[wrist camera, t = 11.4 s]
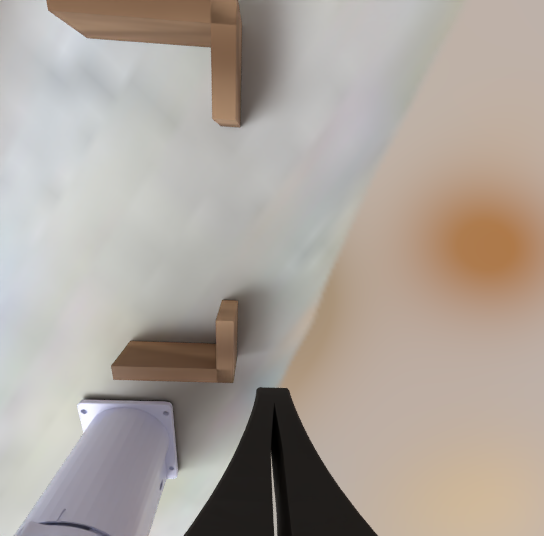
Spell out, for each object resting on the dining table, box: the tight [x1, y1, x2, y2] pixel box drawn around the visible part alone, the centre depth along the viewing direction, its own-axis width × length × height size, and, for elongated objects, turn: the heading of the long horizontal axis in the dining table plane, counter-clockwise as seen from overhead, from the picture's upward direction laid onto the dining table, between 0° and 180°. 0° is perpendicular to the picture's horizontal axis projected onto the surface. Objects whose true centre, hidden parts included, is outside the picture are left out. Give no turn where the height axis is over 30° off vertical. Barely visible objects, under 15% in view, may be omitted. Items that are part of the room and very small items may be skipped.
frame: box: [46, 0, 242, 383], centre depth 18 cm, size 22×9×3 cm, turn 177°
